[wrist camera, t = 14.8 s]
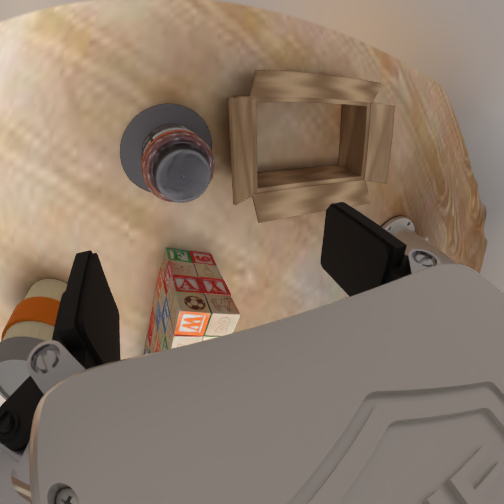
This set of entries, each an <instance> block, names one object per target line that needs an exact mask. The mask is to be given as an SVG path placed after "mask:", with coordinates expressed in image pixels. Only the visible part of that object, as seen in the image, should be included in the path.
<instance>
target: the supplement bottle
mask: <svg viewBox="0 0 504 504" xmlns="http://www.w3.org/2000/svg"><path fill="white" fill-rule="evenodd" d="M141 156H142V157H141V161H142V175H143V178H144V181H145V183H146V185H147V187H148V188H149V190H150V191H151V192H152V193H153V194H154V195H156V196H157V197H159V198H161V199H163V200H166V201H170V202H189V201H192V200H194V199H196V198H198V197H199V196H200V195H201V194H203V192H204V191H205V190H206V188H207V187H208V184H209V183H210V181H211V179H212V177H213V173H214V156H213V153H212V151H211V149H210V147H209V146H208V144H207V143H206V142H205V141H204V140H203V139H202V138H200V137H199V136H198V135H196V134H195V133H193V132H192V131H190V130H189V129H187V128H185V127H183V126H180V125H177V124H165V125H162V126H159V127H157V128H156V129H154V130H153V131H151V133H150V134H149V135H148V136H147V137H146V139H145V141H144V143H143V146H142V155H141Z"/></svg>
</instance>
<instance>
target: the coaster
mask: <svg viewBox="0 0 504 504" xmlns="http://www.w3.org/2000/svg"><path fill="white" fill-rule="evenodd" d="M165 124H177V125H180V126H183V127H185V128H187V129H189V130H190V131H192V132H193V133H195V134H196V135H198V136H199V137H200V138H202V139H203V140H204V141H205V142H206V143H207V144H208V146H209V147H210V149H211V151H212V140H211V135H210V132H209V129H208V127H207V125H206V124H205V122H204V121H203V119H202V118H201V117H200V116H199V115H198V114H197V113H195V112H194V111H192V110H191V109H189V108H187V107H184V106H181V105H176V104H161V105H156V106H153V107H150V108H148V109H146V110H144V111H143V112H141V113H140V114H139V115H137V116H136V117H135V118H134V119H133V120H132V121H131V123H130V124H129V125H128V127H127V129H126V130H125V133H124V135H123V138H122V141H121V146H120V158H121V163H122V166H123V169H124V171H125V173H126V174H127V176H128V177H129V178H130V180H131V181H132V182H133V183H134V184H136V185H137V186H138V187H140V188H142V189H144V190H146V191H149V192H151V191H150V190H149V188H148V187H147V185H146V183H145V181H144V178H143V175H142V161H141V157H142V156H141V155H142V146H143V143H144V141H145V139H146V137H147V136H148V135H149V134H150V133H151V131H153V130H154V129H156V128H157V127H159V126H162V125H165Z"/></svg>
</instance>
